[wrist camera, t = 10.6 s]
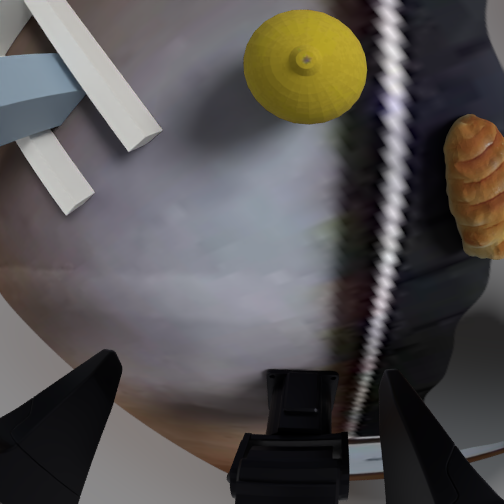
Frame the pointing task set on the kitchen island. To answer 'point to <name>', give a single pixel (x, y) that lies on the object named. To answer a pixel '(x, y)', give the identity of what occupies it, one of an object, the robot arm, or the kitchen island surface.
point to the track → (93, 83)
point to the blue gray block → (35, 94)
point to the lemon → (305, 66)
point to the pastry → (476, 185)
